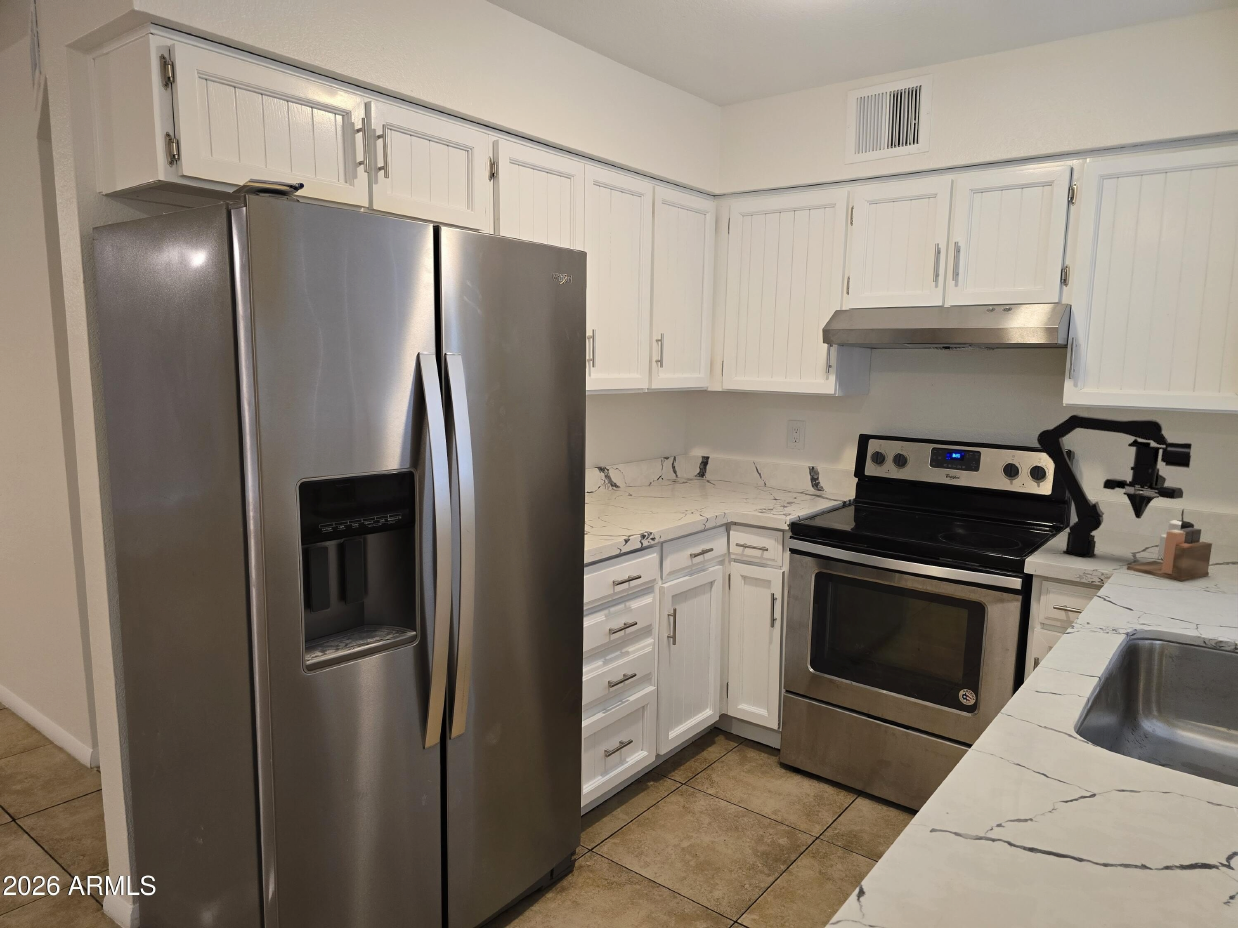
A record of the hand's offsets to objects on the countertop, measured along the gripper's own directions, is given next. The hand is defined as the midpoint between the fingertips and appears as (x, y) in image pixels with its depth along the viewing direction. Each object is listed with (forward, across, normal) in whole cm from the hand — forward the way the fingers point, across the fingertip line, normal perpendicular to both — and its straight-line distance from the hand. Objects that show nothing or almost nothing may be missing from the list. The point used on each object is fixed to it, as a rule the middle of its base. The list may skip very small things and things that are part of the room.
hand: (1138, 518), depth 230 cm
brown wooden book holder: (+13, -10, +2) cm, 17 cm away
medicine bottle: (+13, -4, -16) cm, 21 cm away
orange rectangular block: (+12, -13, +7) cm, 19 cm away
